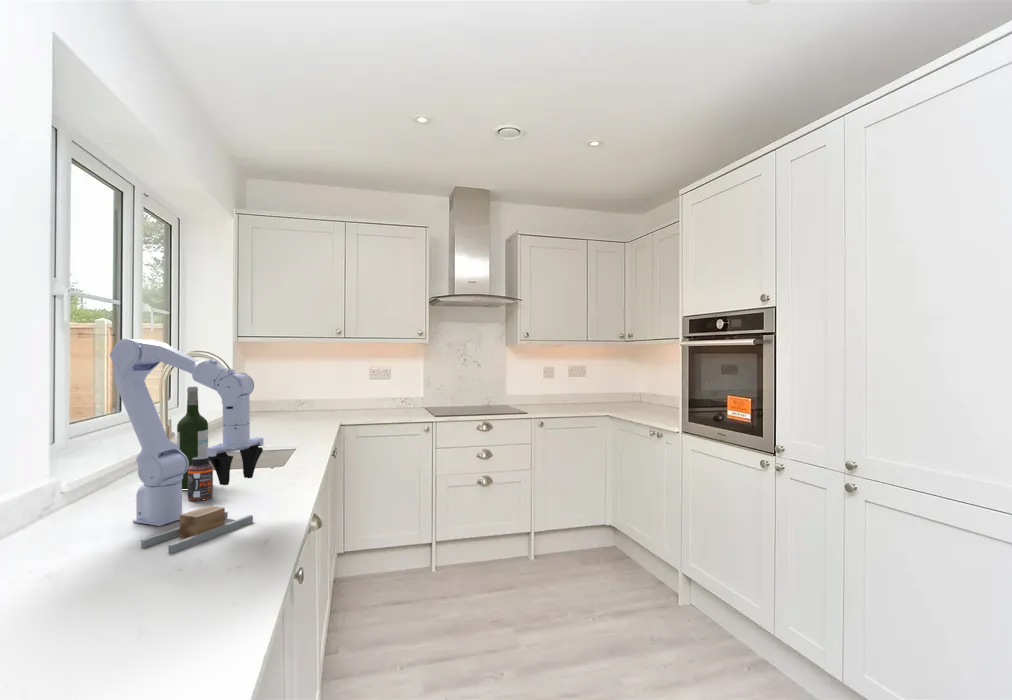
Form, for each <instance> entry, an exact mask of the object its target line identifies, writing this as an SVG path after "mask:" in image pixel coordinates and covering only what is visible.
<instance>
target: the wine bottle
mask: <svg viewBox="0 0 1012 700" xmlns="http://www.w3.org/2000/svg"><path fill="white" fill-rule="evenodd" d="M198 391H199V389H198V386H187V388H186V392H187V398H186V399H187V400H186V414H185V415H184V416H183V417H182V418H181V419H180V420H179V421H178V423H177V425H176V442H177V443H176V444H177V445H178V446H179V449H180V450H181V452H182V453H183V454H185V455H186V457H187V458H188V462H189V466H188V468H189V467H190V466H191V465H192V458H195V457H201V456H206V448H208V447H209V423H208V421H207V419H206V418H205V417H204V416H202V414H200V411H199V395H198V394H199V393H198ZM207 457H208V456H207ZM182 489H188V469H187V471H186V472H185V473H184V474H183V479H182Z"/></svg>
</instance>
